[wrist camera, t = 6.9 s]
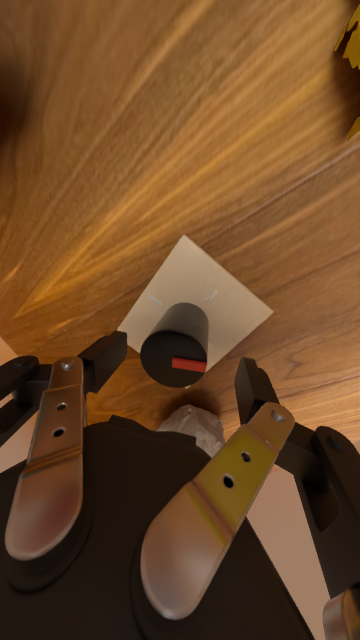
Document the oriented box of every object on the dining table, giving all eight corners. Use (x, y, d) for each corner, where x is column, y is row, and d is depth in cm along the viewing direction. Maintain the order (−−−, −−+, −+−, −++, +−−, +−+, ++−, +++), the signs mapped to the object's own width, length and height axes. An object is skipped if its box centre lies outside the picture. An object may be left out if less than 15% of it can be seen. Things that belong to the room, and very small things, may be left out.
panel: (188, 236, 17) (183, 233, 14) (264, 302, 18) (275, 312, 15) (126, 323, 21) (112, 334, 19) (190, 372, 22) (186, 390, 20)
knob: (162, 341, 18) (138, 385, 12) (163, 299, 16) (137, 326, 11) (205, 348, 17) (202, 396, 12) (211, 305, 16) (211, 337, 10)
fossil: (177, 378, 21) (94, 620, 9) (253, 411, 20) (261, 702, 9) (154, 421, 31) (102, 558, 20) (203, 443, 31) (178, 595, 20)
